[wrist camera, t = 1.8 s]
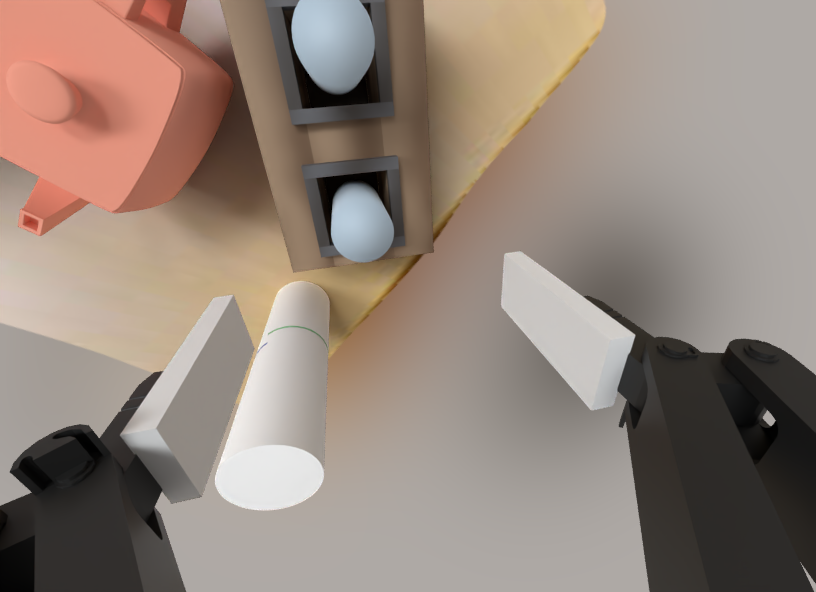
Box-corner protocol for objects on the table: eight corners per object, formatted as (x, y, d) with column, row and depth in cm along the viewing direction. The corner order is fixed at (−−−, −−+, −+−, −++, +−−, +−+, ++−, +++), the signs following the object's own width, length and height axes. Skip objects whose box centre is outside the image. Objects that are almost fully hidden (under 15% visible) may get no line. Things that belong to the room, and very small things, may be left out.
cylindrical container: (263, 308, 44) (193, 492, 22) (297, 270, 42) (255, 430, 21) (308, 335, 47) (284, 519, 26) (340, 301, 46) (344, 467, 24)
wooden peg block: (302, 239, 41) (292, 276, 31) (246, 7, 30) (204, -43, 20) (413, 224, 42) (436, 255, 33) (398, 1, 32) (424, -49, 22)
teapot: (171, 233, 38) (91, 289, 25) (32, 159, 32) (-154, 185, 20) (270, 53, 32) (229, 14, 20) (121, -74, 26) (-65, -239, 14)
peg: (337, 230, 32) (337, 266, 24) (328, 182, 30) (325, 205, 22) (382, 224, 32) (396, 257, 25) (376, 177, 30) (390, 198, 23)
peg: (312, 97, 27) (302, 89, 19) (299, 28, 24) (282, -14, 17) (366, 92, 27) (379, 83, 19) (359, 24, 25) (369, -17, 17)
